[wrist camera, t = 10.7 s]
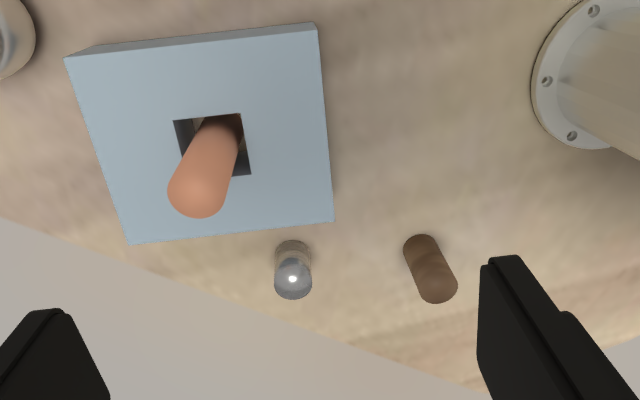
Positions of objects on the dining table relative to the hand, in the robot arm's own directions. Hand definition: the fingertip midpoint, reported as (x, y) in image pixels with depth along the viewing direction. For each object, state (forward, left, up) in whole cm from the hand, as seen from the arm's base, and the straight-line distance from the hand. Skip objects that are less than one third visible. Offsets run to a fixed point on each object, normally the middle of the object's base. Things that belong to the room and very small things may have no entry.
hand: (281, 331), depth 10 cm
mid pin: (-11, +17, -27) cm, 34 cm away
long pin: (+5, +3, -27) cm, 28 cm away
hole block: (+5, +3, -27) cm, 28 cm away
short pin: (+1, +16, -27) cm, 32 cm away
